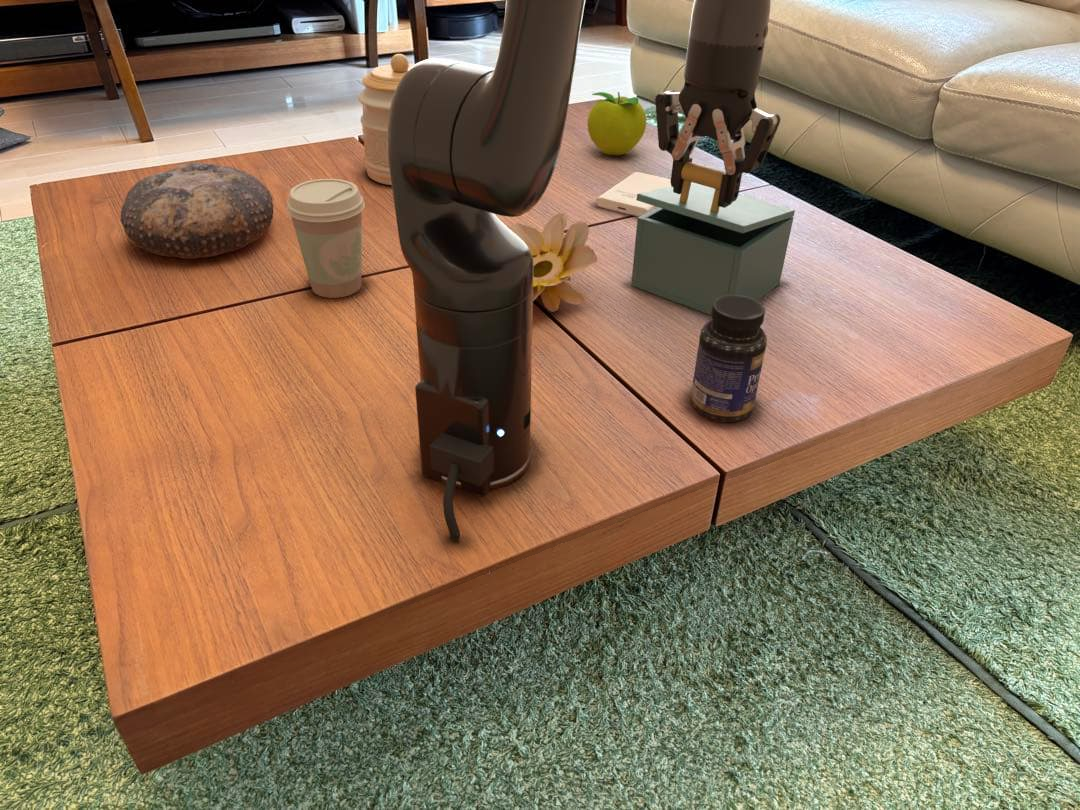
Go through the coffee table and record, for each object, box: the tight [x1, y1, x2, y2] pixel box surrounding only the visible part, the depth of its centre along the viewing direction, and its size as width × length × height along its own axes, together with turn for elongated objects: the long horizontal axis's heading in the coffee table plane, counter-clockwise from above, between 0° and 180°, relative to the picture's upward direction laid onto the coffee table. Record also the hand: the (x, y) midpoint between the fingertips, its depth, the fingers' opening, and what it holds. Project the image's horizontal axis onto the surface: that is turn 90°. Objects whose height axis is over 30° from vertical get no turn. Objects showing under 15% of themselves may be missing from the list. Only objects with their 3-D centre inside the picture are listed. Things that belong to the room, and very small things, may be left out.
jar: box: [357, 53, 415, 186], centre depth 126 cm, size 13×13×18 cm
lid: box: [636, 161, 796, 233], centre depth 95 cm, size 13×14×5 cm
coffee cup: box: [286, 178, 366, 299], centre depth 96 cm, size 8×9×12 cm
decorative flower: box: [509, 212, 598, 313], centre depth 97 cm, size 15×11×10 cm
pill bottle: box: [690, 295, 768, 423], centre depth 78 cm, size 6×6×11 cm
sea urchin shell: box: [120, 162, 275, 259], centre depth 108 cm, size 19×19×10 cm
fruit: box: [587, 91, 647, 157], centre depth 138 cm, size 9×9×10 cm
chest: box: [630, 207, 794, 316], centre depth 100 cm, size 13×14×9 cm
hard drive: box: [596, 171, 671, 218], centre depth 124 cm, size 2×8×12 cm
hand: (702, 197), depth 92 cm, fingers closed on lid, 5 cm apart
